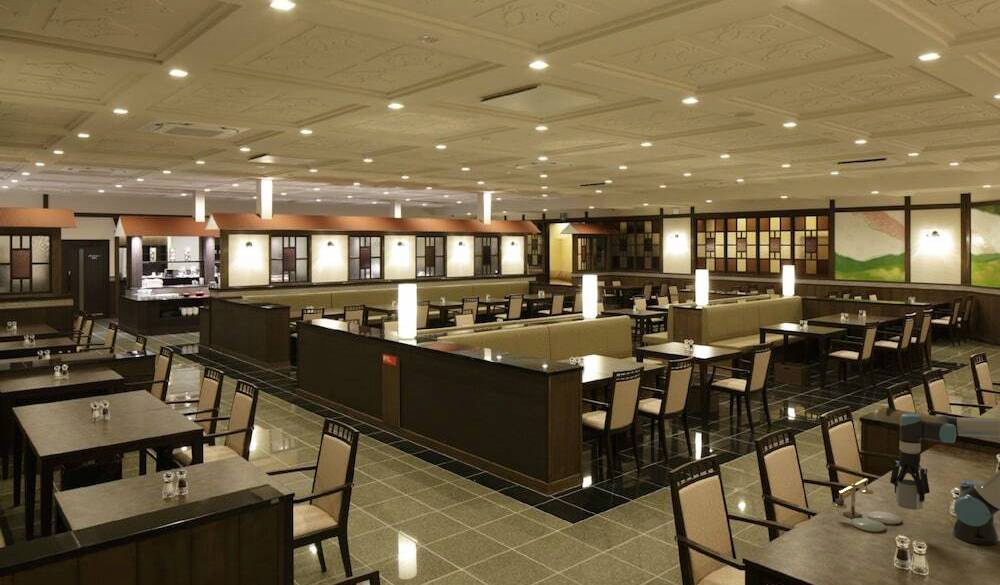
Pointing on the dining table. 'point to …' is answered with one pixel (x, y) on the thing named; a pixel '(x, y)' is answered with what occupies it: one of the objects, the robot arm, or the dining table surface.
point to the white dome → (884, 517)
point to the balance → (840, 502)
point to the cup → (907, 494)
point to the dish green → (868, 524)
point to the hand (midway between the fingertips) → (909, 505)
